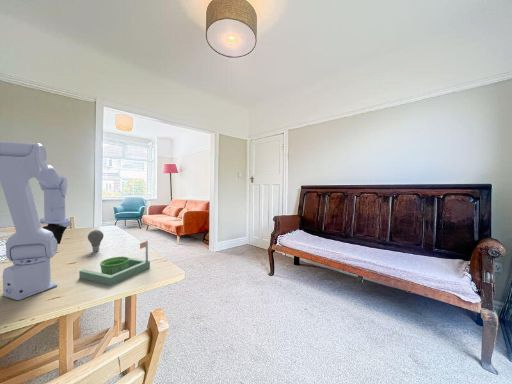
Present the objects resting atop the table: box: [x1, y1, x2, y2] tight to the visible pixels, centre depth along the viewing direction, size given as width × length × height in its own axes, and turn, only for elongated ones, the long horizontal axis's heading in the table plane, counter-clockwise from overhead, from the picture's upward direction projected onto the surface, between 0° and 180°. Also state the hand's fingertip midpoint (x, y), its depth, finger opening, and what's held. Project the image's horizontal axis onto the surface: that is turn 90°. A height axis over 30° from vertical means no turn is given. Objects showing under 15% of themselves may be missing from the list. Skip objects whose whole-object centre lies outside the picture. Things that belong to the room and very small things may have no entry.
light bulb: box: [87, 229, 105, 253], centre depth 103 cm, size 6×6×10 cm
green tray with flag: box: [78, 240, 151, 286], centre depth 79 cm, size 16×14×10 cm
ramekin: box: [99, 256, 130, 275], centre depth 80 cm, size 9×9×4 cm
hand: (55, 244), depth 81 cm, fingers closed
